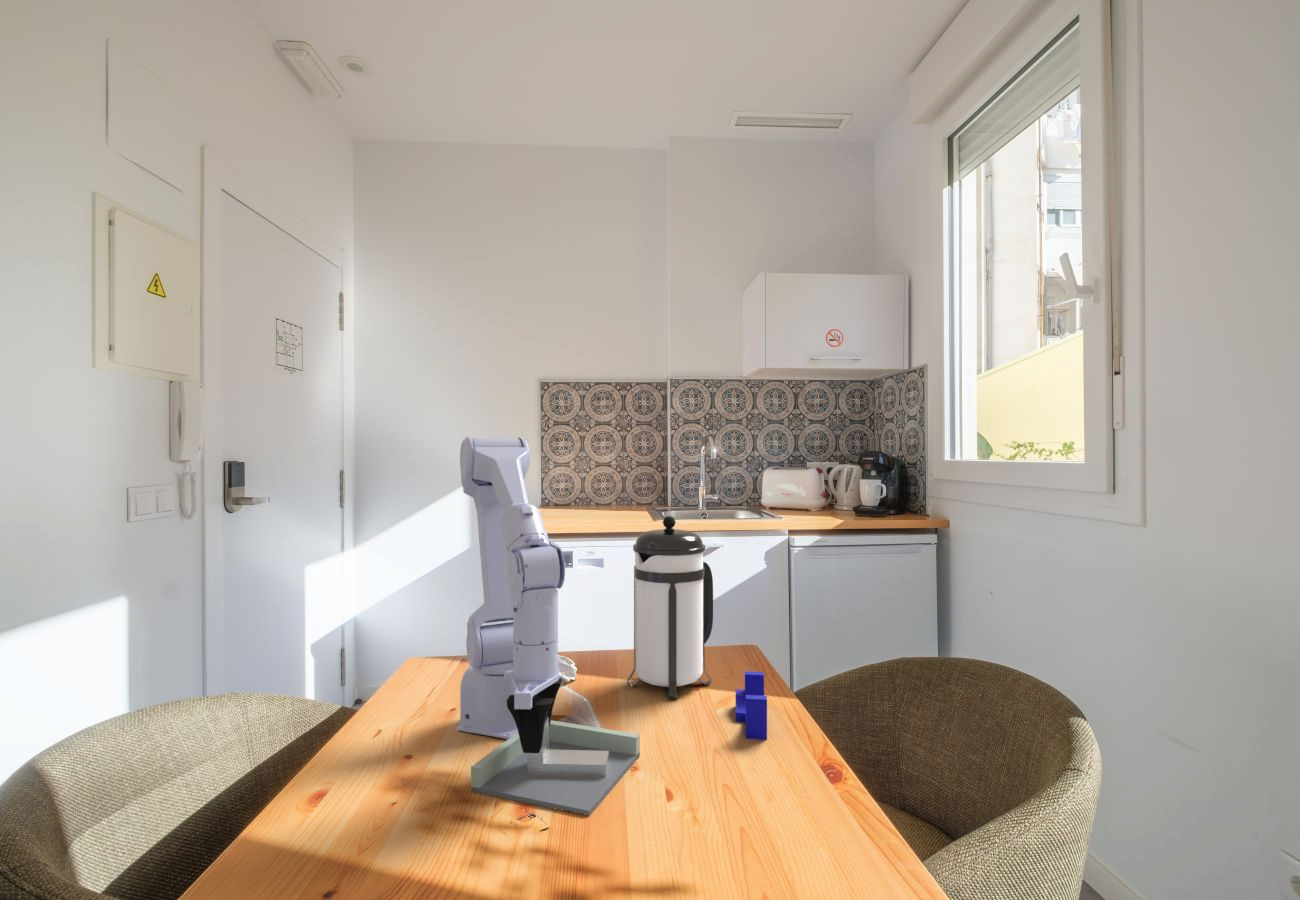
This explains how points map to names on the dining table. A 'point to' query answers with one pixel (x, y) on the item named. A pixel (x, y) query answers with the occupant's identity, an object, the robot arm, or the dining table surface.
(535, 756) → the brushed metal block
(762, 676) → the cable clip
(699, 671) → the coffee press
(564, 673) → the whipped cream
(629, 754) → the corner tray
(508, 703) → the robot arm
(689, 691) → the dining table surface
